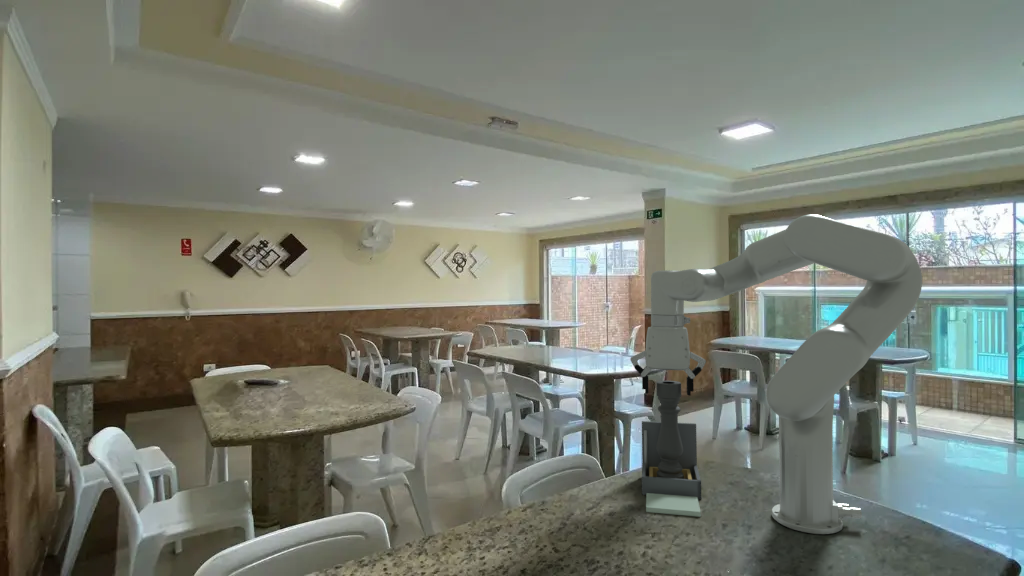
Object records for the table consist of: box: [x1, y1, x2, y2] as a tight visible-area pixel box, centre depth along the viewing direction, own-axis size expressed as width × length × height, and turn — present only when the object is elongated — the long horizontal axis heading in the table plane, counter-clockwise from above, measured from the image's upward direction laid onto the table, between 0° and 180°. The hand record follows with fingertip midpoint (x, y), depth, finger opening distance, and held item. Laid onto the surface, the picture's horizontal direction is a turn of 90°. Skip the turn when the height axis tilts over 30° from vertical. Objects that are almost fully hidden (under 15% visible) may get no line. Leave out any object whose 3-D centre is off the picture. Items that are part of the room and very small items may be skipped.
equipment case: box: [641, 420, 702, 500], centre depth 127 cm, size 13×12×14 cm
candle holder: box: [655, 380, 684, 479], centre depth 127 cm, size 6×6×25 cm
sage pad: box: [645, 493, 702, 518], centre depth 116 cm, size 11×8×1 cm
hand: (667, 393), depth 127 cm, fingers open, 9 cm apart
